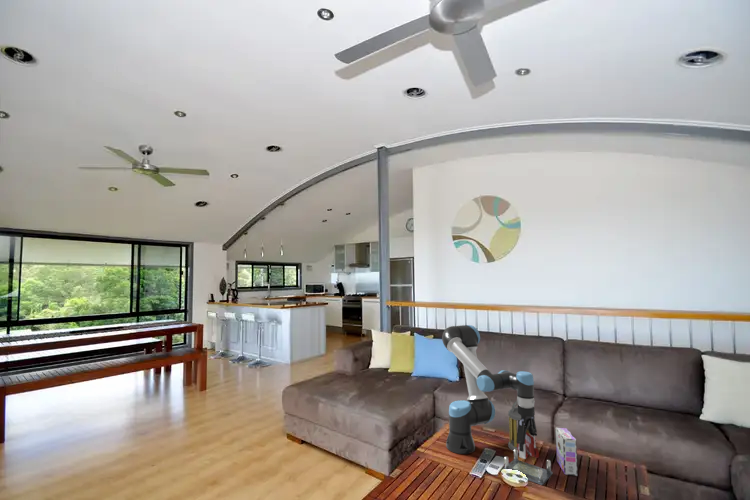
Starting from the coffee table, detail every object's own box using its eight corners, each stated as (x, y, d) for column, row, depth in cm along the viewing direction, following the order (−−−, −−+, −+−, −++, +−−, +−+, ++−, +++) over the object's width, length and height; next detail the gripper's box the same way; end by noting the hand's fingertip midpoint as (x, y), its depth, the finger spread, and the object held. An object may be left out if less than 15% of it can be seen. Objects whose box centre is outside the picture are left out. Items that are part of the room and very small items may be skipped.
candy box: (578, 476, 170) (576, 439, 171) (564, 475, 171) (563, 438, 172) (568, 461, 184) (567, 427, 185) (556, 460, 185) (554, 426, 186)
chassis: (503, 470, 175) (503, 457, 175) (514, 460, 184) (514, 448, 185) (542, 485, 163) (542, 471, 163) (552, 474, 172) (552, 460, 172)
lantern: (527, 441, 206) (526, 395, 208) (541, 453, 192) (540, 404, 194) (503, 442, 204) (502, 396, 206) (516, 454, 190) (515, 405, 192)
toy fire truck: (529, 448, 180) (528, 426, 181) (541, 461, 168) (540, 437, 169) (515, 448, 180) (514, 426, 181) (526, 461, 168) (525, 437, 168)
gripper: (523, 414, 165) (525, 465, 163) (542, 401, 181) (544, 447, 180) (507, 410, 170) (509, 459, 168) (527, 398, 187) (529, 443, 185)
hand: (527, 453), depth 174 cm, fingers closed on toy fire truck, 11 cm apart
